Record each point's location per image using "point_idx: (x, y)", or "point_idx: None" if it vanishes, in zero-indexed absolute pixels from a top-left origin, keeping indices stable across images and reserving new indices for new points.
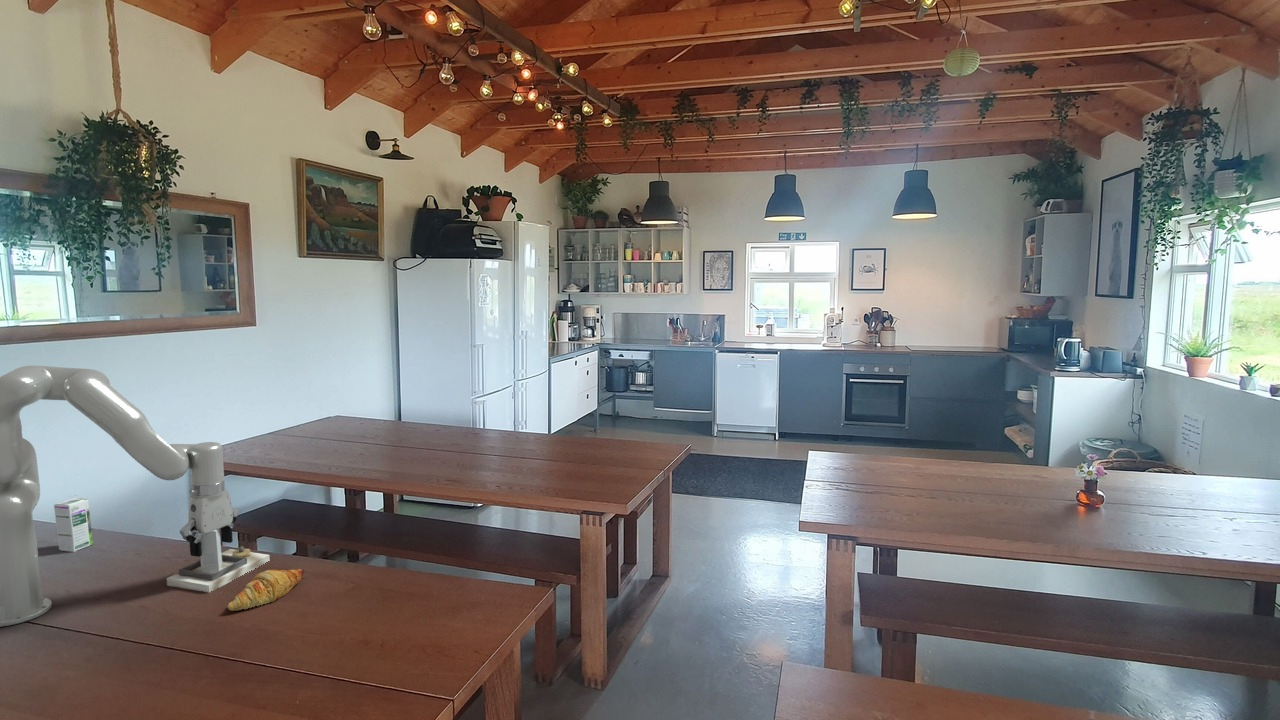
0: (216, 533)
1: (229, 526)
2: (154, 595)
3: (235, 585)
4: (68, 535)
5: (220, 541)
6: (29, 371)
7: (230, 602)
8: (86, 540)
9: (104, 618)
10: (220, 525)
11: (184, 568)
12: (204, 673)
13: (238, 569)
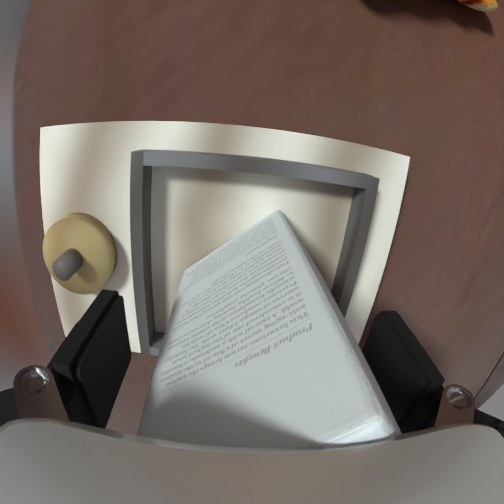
0: (350, 388)
1: (58, 396)
2: (407, 325)
3: (314, 84)
4: None
5: (163, 351)
6: None
7: (493, 2)
8: None
9: (494, 323)
10: (251, 487)
11: None
12: None
13: (222, 134)
